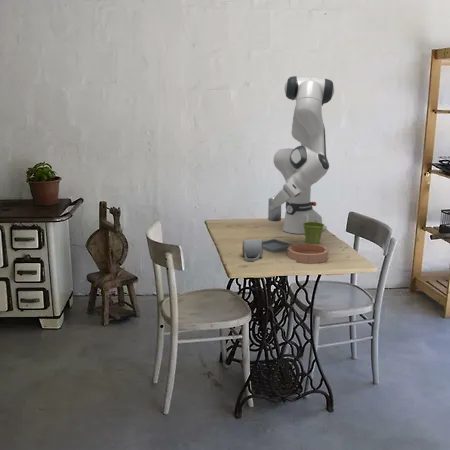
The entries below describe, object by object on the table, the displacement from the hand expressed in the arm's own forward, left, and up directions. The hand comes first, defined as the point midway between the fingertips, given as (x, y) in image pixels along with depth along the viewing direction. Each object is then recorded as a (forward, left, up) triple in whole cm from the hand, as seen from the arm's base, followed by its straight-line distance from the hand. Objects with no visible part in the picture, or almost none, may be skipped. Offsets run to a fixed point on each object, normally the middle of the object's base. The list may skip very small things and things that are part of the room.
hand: (273, 207), depth 242 cm
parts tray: (0, +1, -18) cm, 18 cm away
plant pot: (-19, +6, -18) cm, 27 cm away
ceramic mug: (+16, +6, -18) cm, 25 cm away
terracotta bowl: (-2, +19, -18) cm, 26 cm away
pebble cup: (0, +1, -6) cm, 6 cm away
